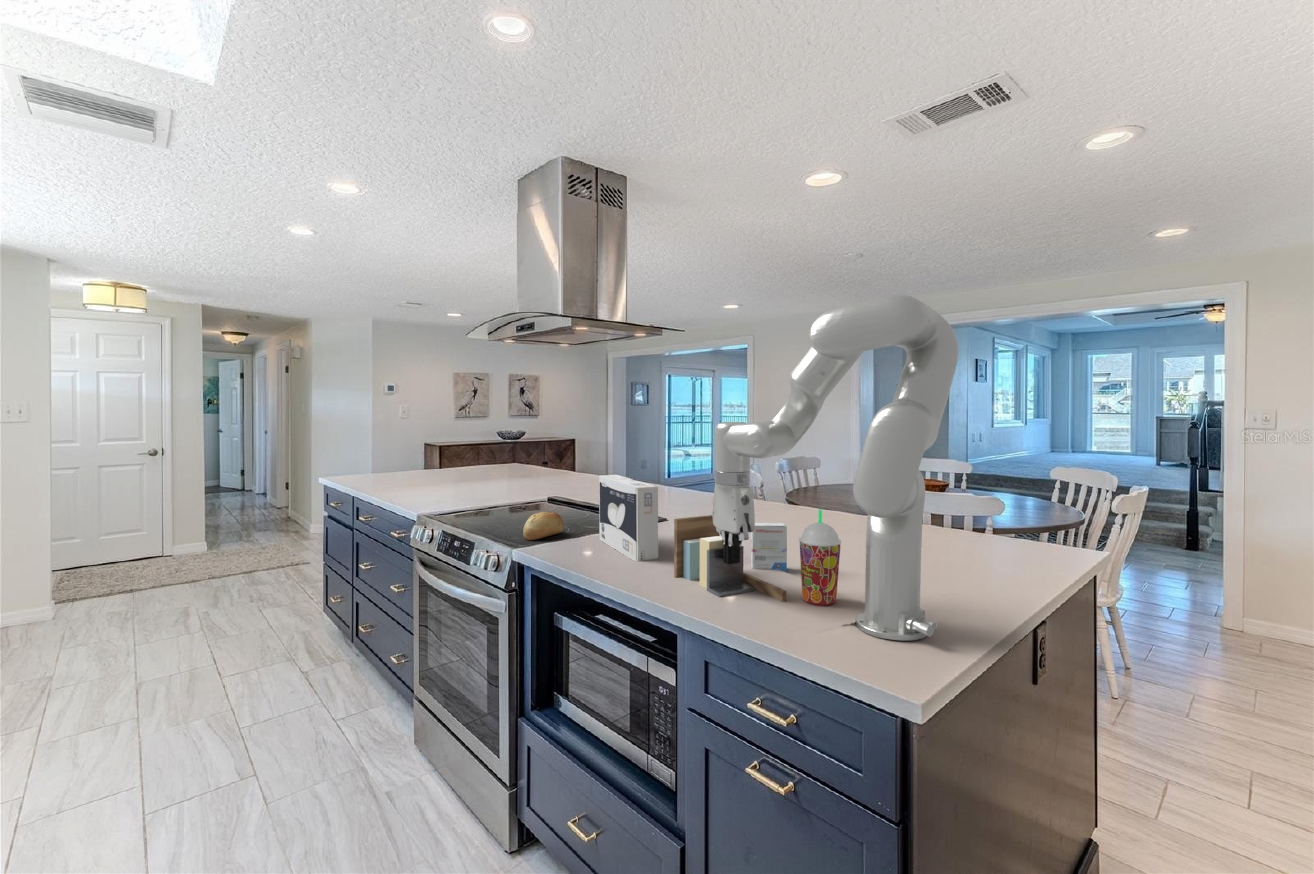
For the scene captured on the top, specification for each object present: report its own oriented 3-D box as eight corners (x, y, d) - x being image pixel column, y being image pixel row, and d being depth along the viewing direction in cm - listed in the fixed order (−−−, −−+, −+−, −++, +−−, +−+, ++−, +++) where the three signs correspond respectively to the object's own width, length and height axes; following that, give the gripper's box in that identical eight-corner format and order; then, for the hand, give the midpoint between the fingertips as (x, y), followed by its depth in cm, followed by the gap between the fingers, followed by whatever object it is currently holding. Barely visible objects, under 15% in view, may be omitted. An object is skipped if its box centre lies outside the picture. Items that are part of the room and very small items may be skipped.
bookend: (753, 590, 130) (754, 550, 129) (719, 596, 126) (719, 554, 125) (740, 584, 134) (740, 545, 134) (706, 590, 130) (706, 549, 130)
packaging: (599, 539, 183) (598, 475, 182) (617, 537, 186) (617, 474, 185) (637, 563, 156) (637, 487, 155) (658, 560, 159) (658, 486, 157)
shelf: (786, 604, 123) (786, 535, 122) (738, 614, 118) (738, 541, 117) (716, 572, 147) (716, 514, 146) (674, 579, 141) (674, 518, 141)
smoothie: (790, 601, 126) (791, 507, 124) (823, 596, 128) (824, 505, 127) (814, 614, 118) (815, 514, 117) (848, 609, 121) (850, 511, 120)
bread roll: (572, 534, 191) (572, 510, 191) (538, 543, 179) (537, 517, 179) (550, 530, 197) (550, 507, 196) (516, 539, 185) (516, 513, 184)
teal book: (718, 576, 141) (718, 539, 141) (689, 581, 138) (689, 542, 137) (711, 573, 144) (712, 536, 144) (683, 577, 140) (683, 540, 140)
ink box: (784, 567, 151) (785, 521, 151) (786, 573, 146) (787, 525, 146) (750, 566, 152) (751, 521, 152) (751, 572, 147) (752, 525, 147)
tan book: (739, 586, 134) (739, 537, 133) (709, 591, 130) (709, 541, 130) (729, 581, 138) (729, 534, 137) (699, 586, 134) (699, 538, 133)
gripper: (767, 482, 123) (766, 569, 124) (727, 474, 136) (726, 553, 137) (738, 484, 120) (737, 573, 121) (699, 476, 133) (698, 556, 134)
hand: (731, 562), depth 129 cm, fingers closed
